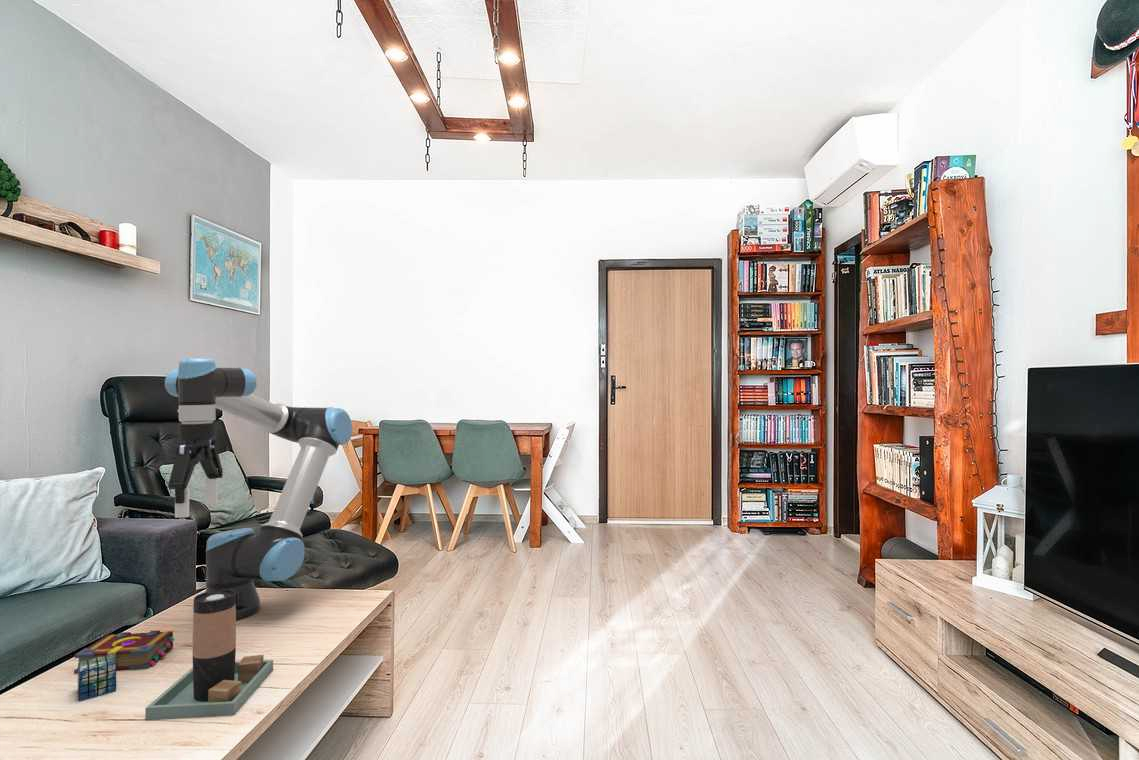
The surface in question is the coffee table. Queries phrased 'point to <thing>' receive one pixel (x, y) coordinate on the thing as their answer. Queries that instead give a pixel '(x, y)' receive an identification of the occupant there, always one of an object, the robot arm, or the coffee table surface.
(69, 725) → the coffee table surface
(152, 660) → the decorative book
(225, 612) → the travel mug
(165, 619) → the coffee table surface
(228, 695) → the walnut block
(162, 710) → the tray
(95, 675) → the puzzle
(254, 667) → the walnut block
